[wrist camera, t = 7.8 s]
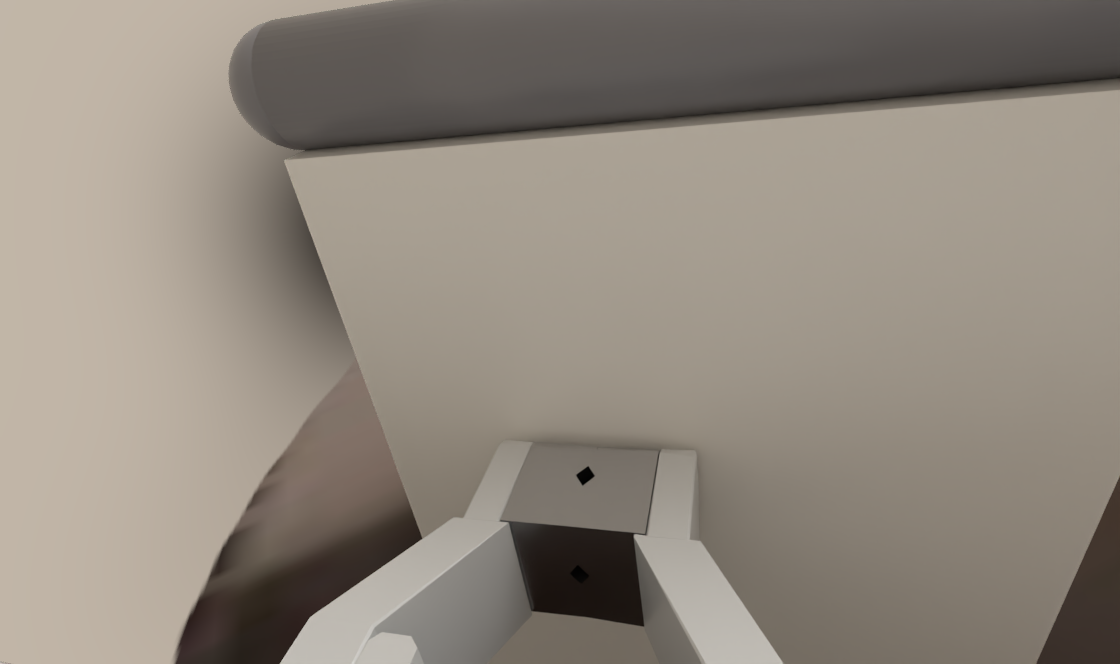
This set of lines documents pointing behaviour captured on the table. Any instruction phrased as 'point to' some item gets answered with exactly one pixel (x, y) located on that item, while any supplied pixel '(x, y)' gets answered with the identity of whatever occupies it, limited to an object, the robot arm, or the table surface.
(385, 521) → the table surface
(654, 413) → the trolley
